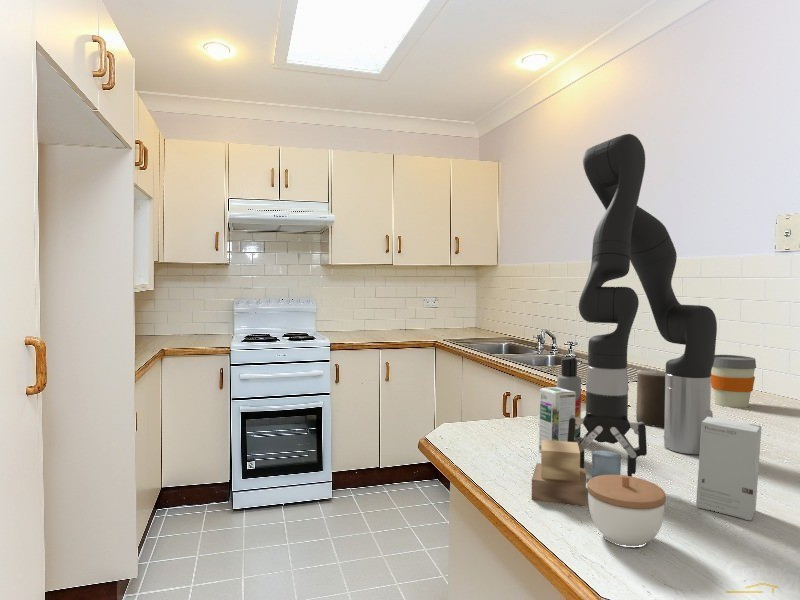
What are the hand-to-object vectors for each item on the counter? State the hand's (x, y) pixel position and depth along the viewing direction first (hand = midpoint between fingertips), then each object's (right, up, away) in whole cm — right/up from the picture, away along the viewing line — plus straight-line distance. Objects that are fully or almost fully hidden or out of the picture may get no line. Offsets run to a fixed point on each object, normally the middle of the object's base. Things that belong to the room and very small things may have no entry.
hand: (605, 472), depth 102 cm
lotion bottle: (+2, -1, +28) cm, 28 cm away
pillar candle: (+30, 0, +42) cm, 52 cm away
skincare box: (+16, -2, -13) cm, 20 cm away
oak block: (-11, +2, -6) cm, 13 cm away
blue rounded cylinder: (0, -2, 0) cm, 2 cm away
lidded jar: (-6, -2, -23) cm, 24 cm away
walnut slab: (-11, -2, -6) cm, 13 cm away
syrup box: (-5, -1, +16) cm, 16 cm away
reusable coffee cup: (+65, 0, +64) cm, 91 cm away
